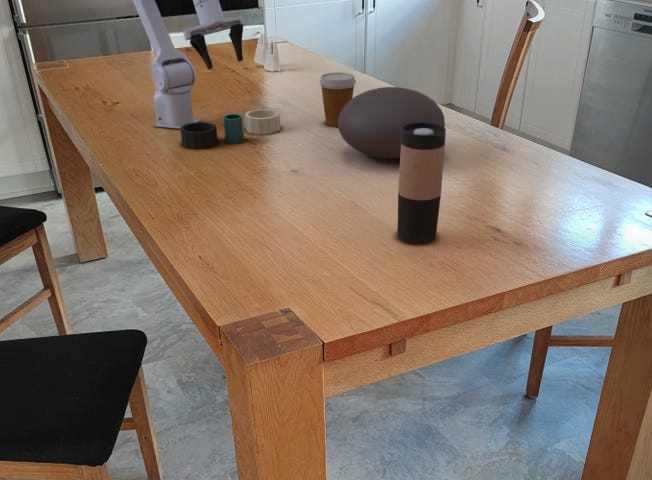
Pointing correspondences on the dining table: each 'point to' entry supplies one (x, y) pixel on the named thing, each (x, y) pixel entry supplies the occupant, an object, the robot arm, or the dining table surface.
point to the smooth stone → (385, 119)
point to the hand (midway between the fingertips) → (225, 64)
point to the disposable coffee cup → (336, 94)
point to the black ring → (199, 135)
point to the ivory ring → (262, 121)
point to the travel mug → (420, 181)
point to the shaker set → (267, 54)
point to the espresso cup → (233, 128)
